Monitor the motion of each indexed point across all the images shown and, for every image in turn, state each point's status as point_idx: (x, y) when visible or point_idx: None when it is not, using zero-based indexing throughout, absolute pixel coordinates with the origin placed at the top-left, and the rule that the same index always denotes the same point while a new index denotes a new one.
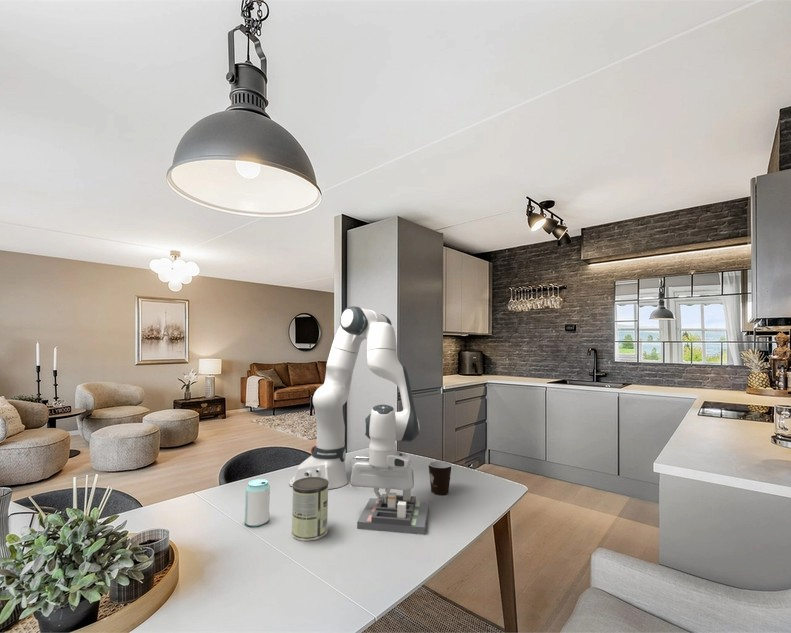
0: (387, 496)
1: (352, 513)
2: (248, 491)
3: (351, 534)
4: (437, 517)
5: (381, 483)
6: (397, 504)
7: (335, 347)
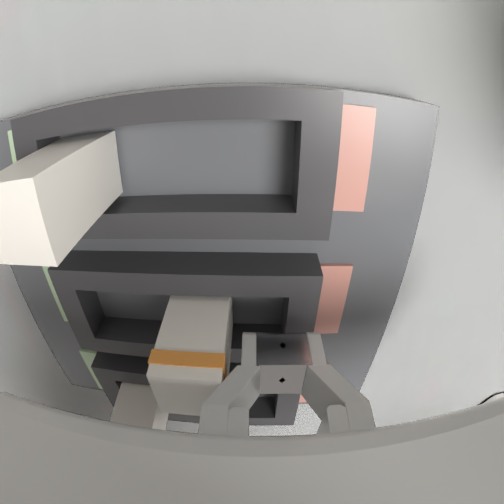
0: (263, 413)
1: (439, 284)
2: None
3: (433, 27)
4: (17, 299)
5: (294, 488)
6: (31, 179)
7: None
